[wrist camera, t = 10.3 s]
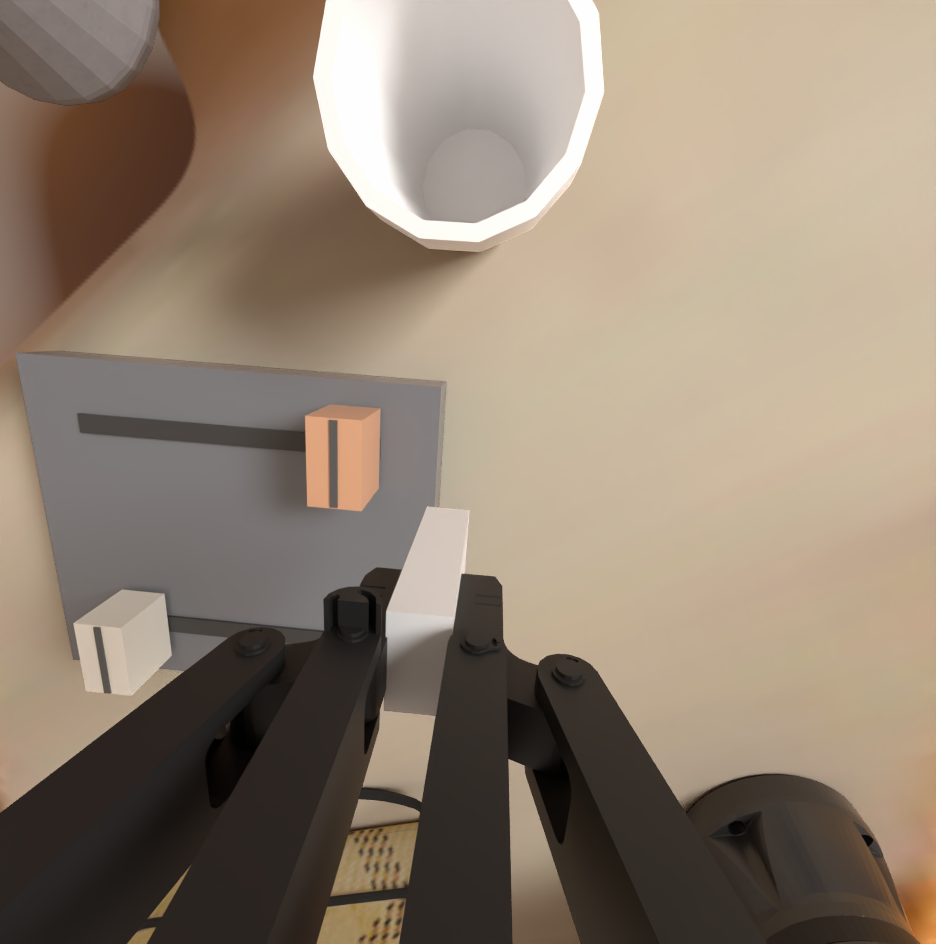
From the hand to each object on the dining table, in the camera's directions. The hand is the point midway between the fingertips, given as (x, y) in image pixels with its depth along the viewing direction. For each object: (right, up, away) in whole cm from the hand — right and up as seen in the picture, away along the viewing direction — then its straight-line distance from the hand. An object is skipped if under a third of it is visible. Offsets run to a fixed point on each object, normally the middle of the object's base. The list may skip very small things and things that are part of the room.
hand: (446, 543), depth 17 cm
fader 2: (-6, +4, +12) cm, 14 cm away
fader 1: (-22, -8, +17) cm, 29 cm away
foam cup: (+1, +19, +11) cm, 22 cm away
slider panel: (-14, -1, +18) cm, 23 cm away
